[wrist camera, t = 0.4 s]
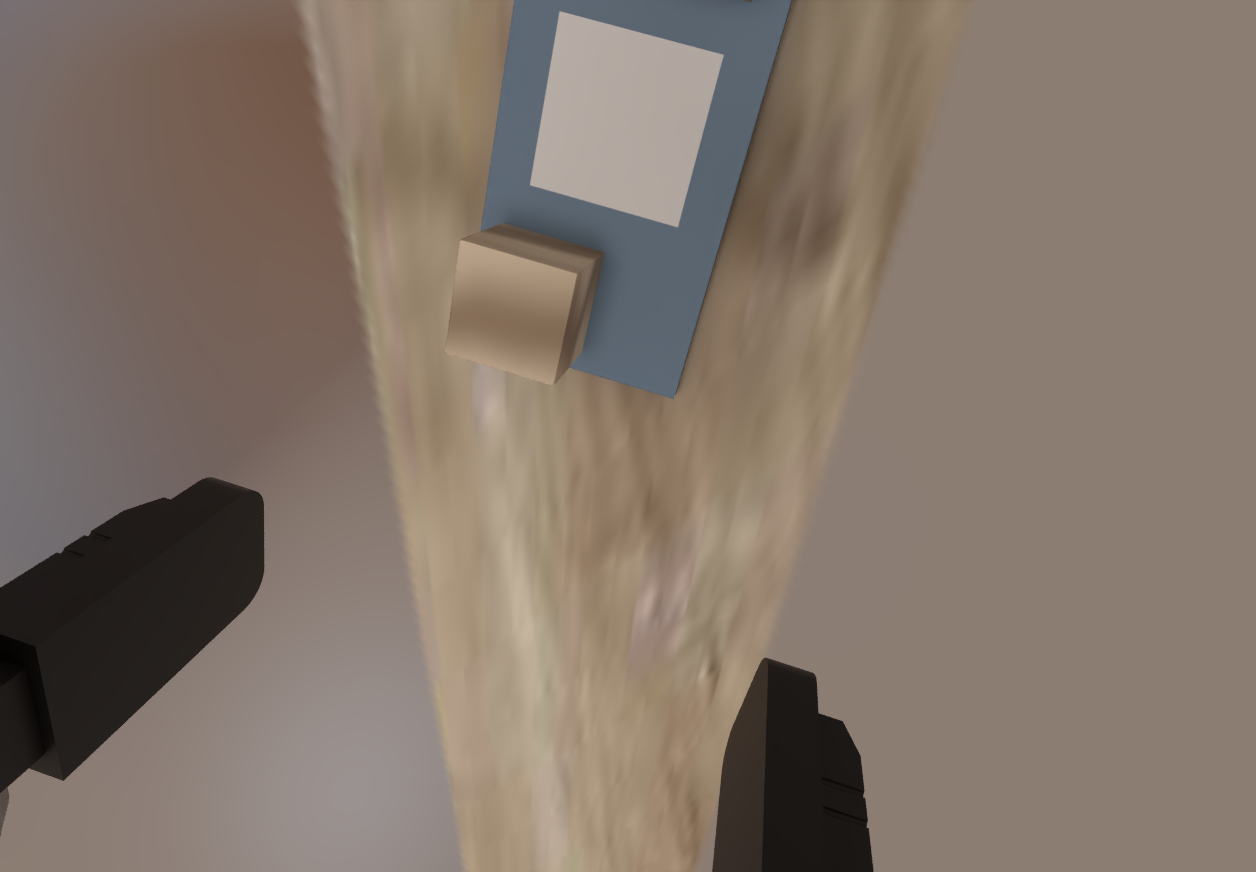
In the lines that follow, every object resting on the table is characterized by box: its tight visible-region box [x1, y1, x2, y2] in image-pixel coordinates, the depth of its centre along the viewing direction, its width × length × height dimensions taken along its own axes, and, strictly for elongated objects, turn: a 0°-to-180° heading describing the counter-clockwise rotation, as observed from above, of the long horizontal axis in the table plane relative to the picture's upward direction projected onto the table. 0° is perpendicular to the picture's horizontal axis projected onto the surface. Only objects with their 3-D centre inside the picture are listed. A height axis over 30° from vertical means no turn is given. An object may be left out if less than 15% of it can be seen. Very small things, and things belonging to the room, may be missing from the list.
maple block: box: [445, 223, 604, 386], centre depth 32 cm, size 5×5×5 cm
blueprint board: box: [481, 0, 792, 399], centre depth 31 cm, size 23×11×1 cm, turn 166°
